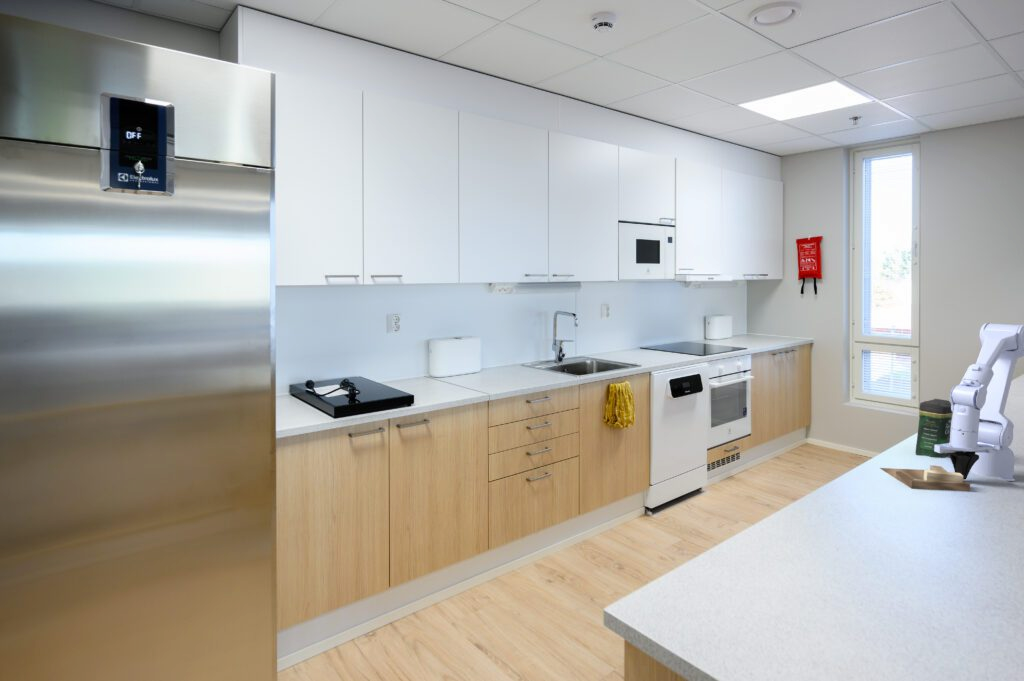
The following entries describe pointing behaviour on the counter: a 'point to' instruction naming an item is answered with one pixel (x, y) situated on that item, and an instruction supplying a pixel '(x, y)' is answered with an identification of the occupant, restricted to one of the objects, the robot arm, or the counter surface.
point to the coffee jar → (933, 427)
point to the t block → (941, 475)
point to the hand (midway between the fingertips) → (960, 478)
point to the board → (916, 480)
